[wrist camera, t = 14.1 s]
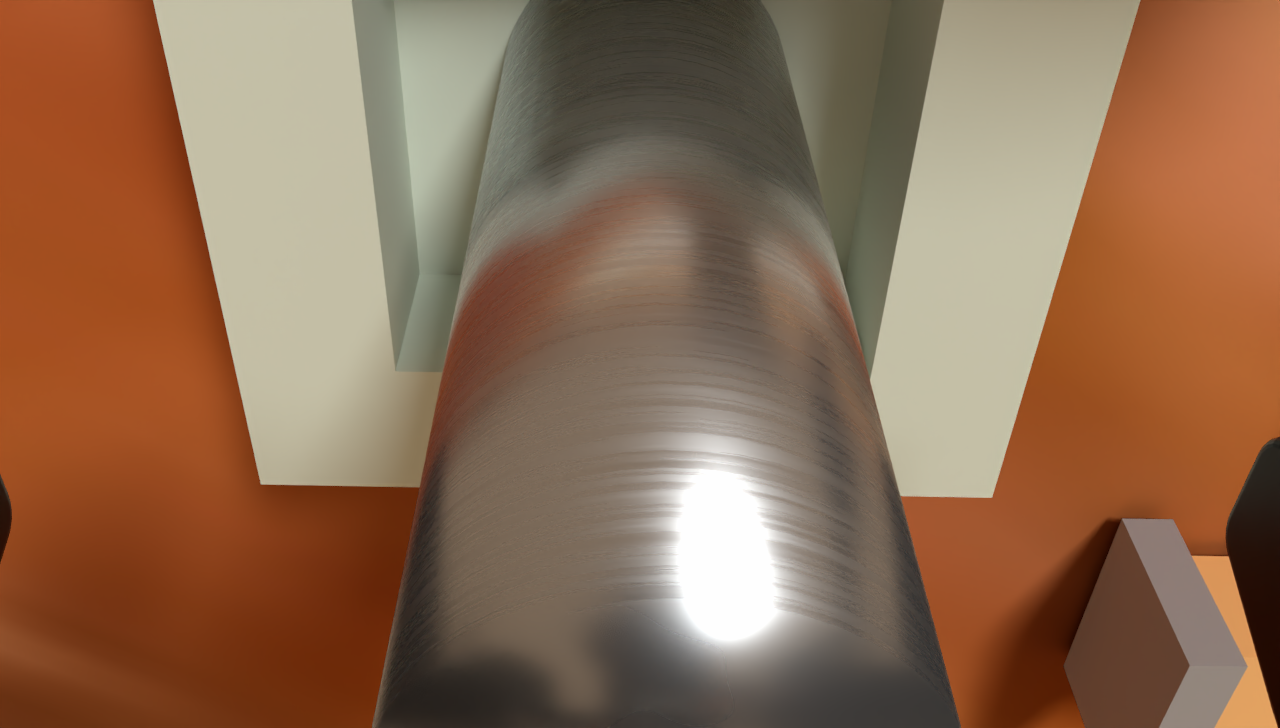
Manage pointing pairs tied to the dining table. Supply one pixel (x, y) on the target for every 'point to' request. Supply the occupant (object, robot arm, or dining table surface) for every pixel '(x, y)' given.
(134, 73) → the dining table surface
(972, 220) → the white hollow flat block
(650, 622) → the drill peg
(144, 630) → the dining table surface
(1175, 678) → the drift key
